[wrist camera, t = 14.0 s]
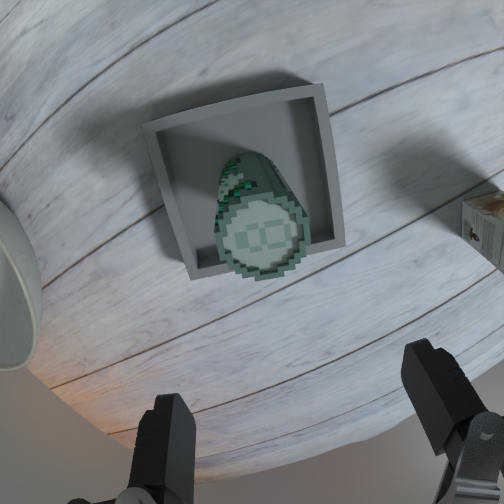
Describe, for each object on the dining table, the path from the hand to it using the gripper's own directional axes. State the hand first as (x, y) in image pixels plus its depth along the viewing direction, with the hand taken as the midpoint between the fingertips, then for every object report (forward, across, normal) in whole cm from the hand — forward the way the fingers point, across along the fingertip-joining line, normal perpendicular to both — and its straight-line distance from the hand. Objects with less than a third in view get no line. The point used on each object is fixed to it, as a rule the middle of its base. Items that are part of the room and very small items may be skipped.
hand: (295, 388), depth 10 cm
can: (+27, 0, 0) cm, 27 cm away
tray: (+28, 0, 0) cm, 28 cm away
